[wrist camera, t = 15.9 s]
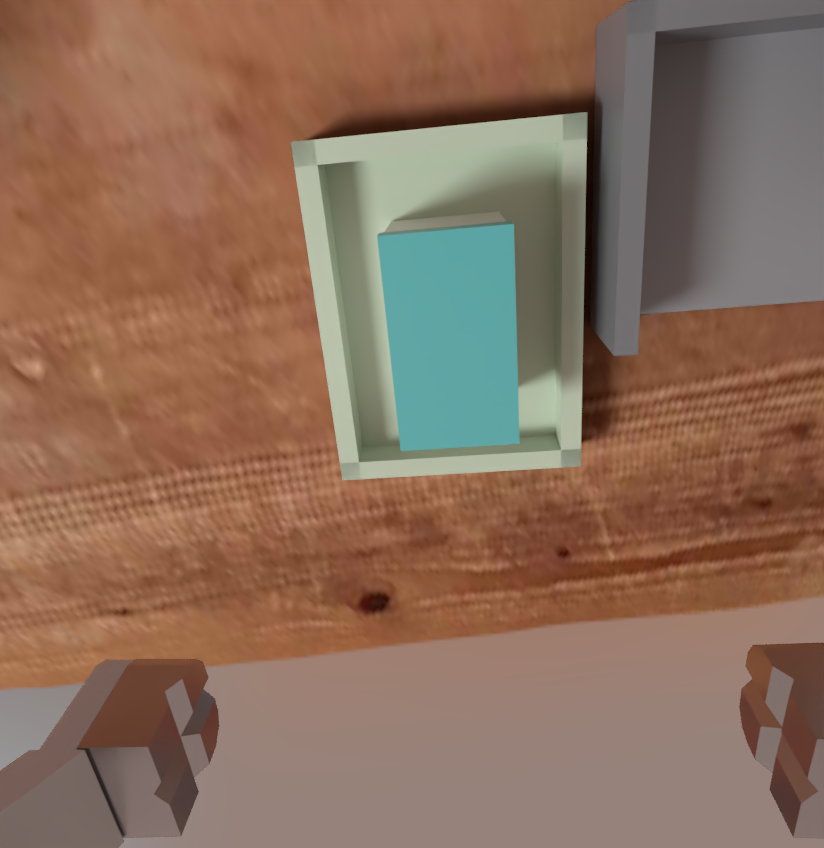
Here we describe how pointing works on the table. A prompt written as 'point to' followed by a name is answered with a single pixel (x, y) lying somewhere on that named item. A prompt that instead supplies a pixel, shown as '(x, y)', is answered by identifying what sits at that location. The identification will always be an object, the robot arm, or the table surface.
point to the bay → (706, 160)
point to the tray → (435, 197)
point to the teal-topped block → (452, 329)
